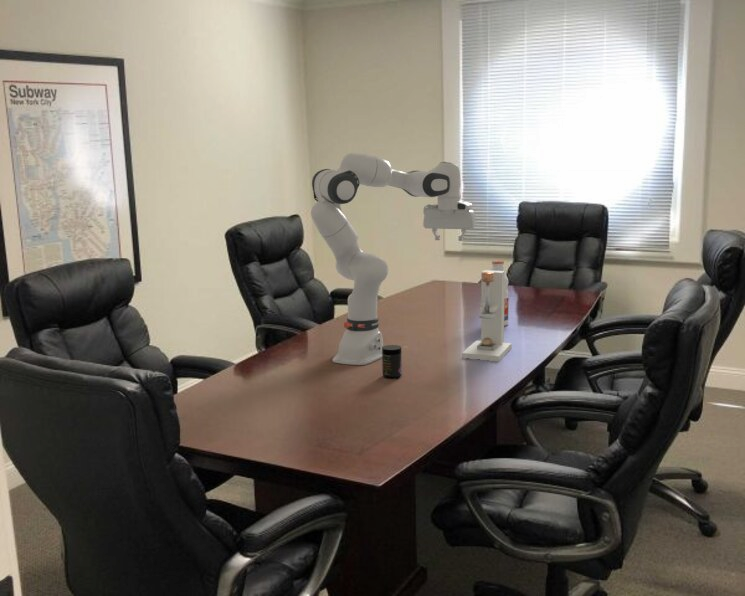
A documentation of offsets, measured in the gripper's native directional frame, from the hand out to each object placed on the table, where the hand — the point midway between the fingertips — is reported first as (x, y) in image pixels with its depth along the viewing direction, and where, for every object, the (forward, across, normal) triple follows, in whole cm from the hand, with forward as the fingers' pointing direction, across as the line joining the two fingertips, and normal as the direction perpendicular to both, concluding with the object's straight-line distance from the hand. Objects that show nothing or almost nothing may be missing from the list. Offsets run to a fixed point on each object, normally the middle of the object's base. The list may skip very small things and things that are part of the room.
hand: (449, 240), depth 310 cm
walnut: (+37, +18, -10) cm, 42 cm away
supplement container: (+41, -5, -50) cm, 65 cm away
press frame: (+41, +18, -10) cm, 46 cm away
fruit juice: (+41, +10, +38) cm, 57 cm away
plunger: (+27, +18, -10) cm, 34 cm away
